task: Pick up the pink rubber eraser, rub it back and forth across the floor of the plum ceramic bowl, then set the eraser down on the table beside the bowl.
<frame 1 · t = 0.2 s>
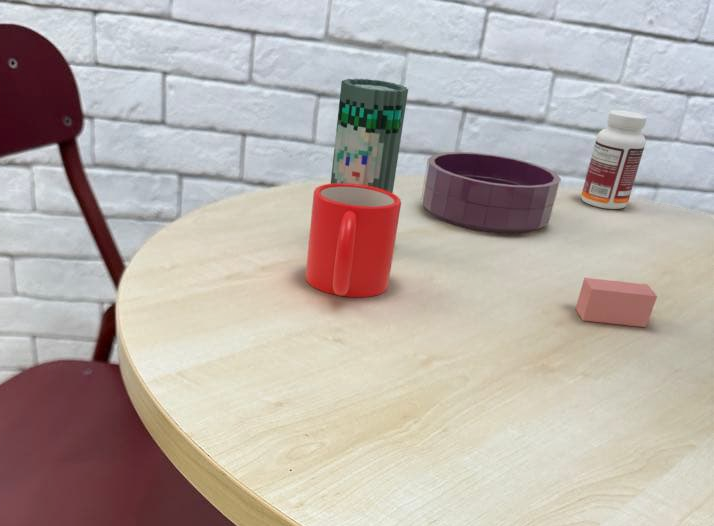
eraser: (610, 317, 79), on the table
pill bottle: (602, 205, 114), on the table
mug: (344, 291, 79), on the table
bowl: (483, 216, 103), on the table
can: (354, 244, 90), on the table
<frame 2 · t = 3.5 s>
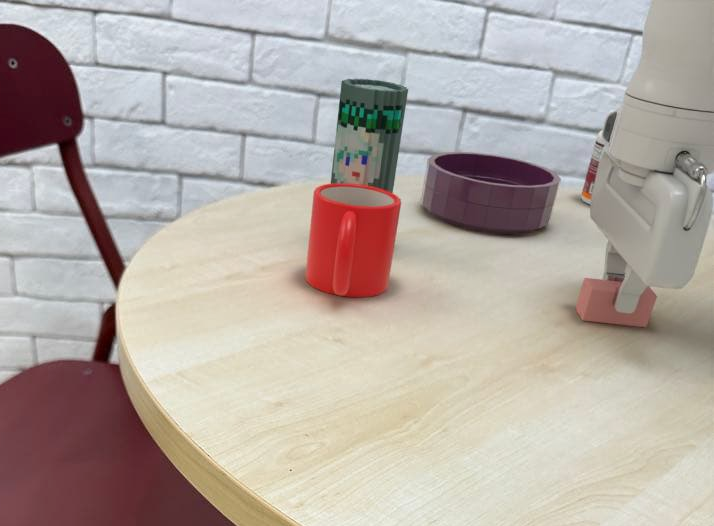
hand: (615, 301, 78), 2 cm above the table, tool pointing down, fingers closed on eraser, 3 cm apart
eraser: (610, 317, 79), on the table, touching gripper
everything else where it was.
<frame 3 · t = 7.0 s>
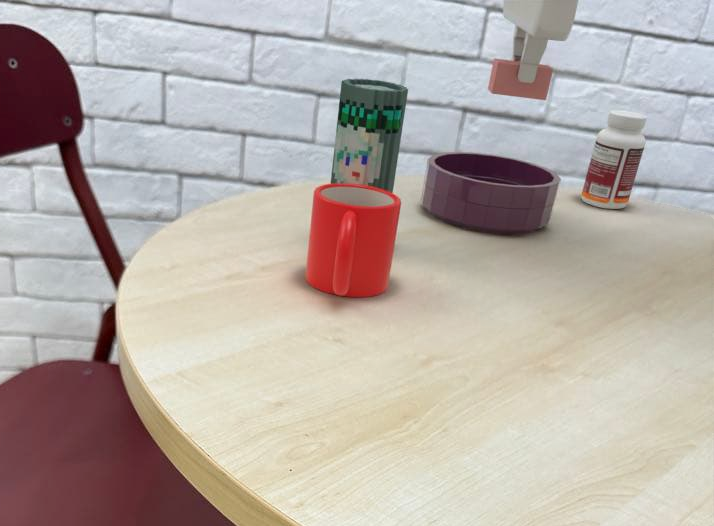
hand: (520, 78, 92), 15 cm above the table, tool pointing down, fingers closed on eraser, 3 cm apart
eraser: (516, 94, 93), point 14 cm above the table, touching gripper
everything else where it was.
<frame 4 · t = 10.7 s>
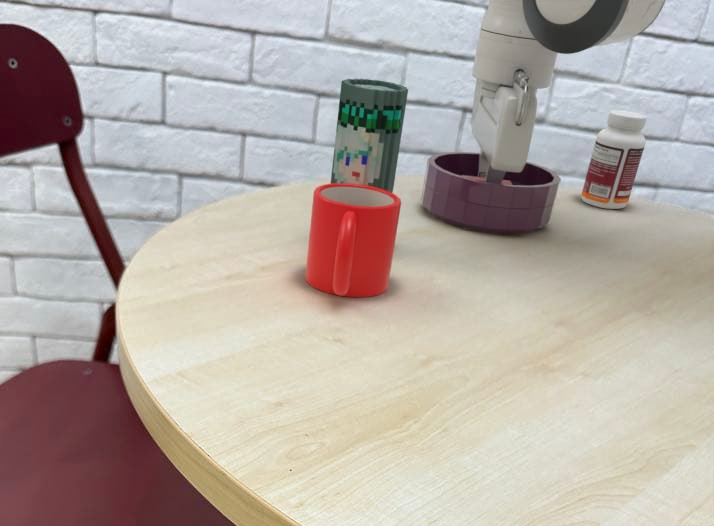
hand: (485, 193, 103), 2 cm above the table, tool pointing down, fingers closed on eraser, 3 cm apart
eraser: (482, 206, 104), point 1 cm above the table, touching bowl, gripper
everything else where it was.
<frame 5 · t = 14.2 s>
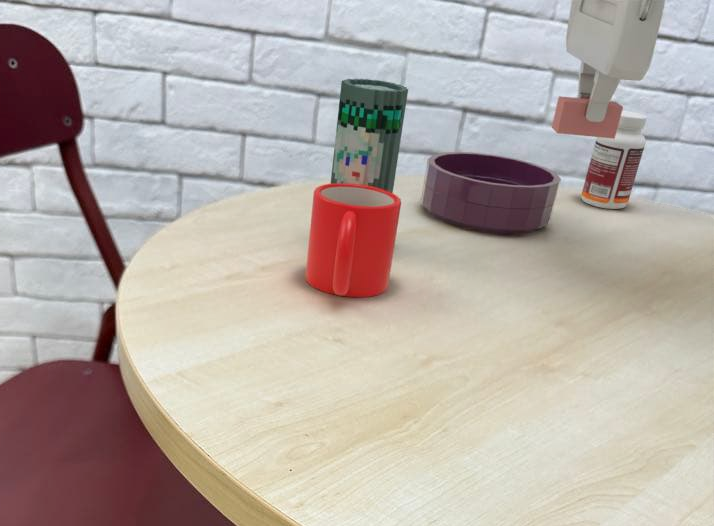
hand: (588, 116, 88), 13 cm above the table, tool pointing down, fingers closed on eraser, 3 cm apart
eraser: (582, 133, 89), point 12 cm above the table, touching gripper
everything else where it was.
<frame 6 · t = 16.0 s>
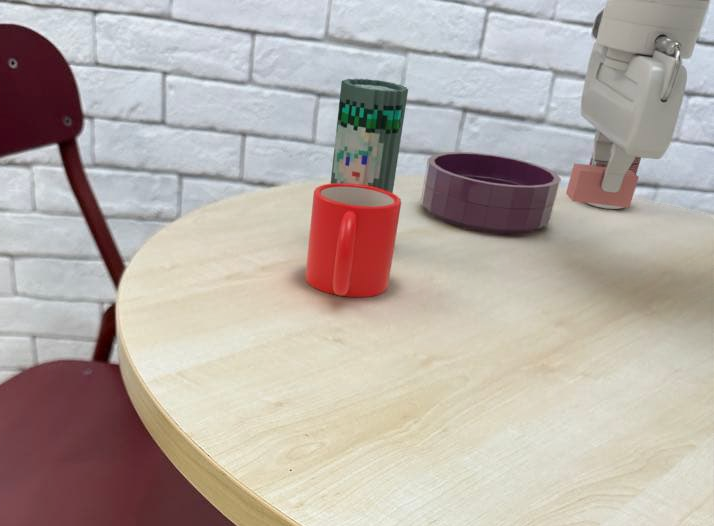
hand: (602, 184, 87), 8 cm above the table, tool pointing down, fingers closed on eraser, 3 cm apart
eraser: (597, 200, 88), point 6 cm above the table, touching gripper
everything else where it was.
when the fingers open (1 cm above the table, at t = 17.8 s): eraser stays where it is, on the table.
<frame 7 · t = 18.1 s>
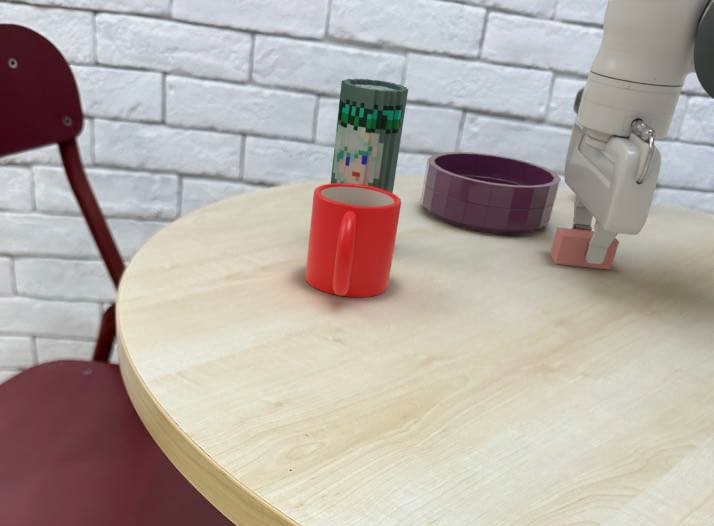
hand: (585, 251, 91), 1 cm above the table, tool pointing down, fingers open, 5 cm apart
eraser: (579, 262, 92), on the table
everything else where it was.
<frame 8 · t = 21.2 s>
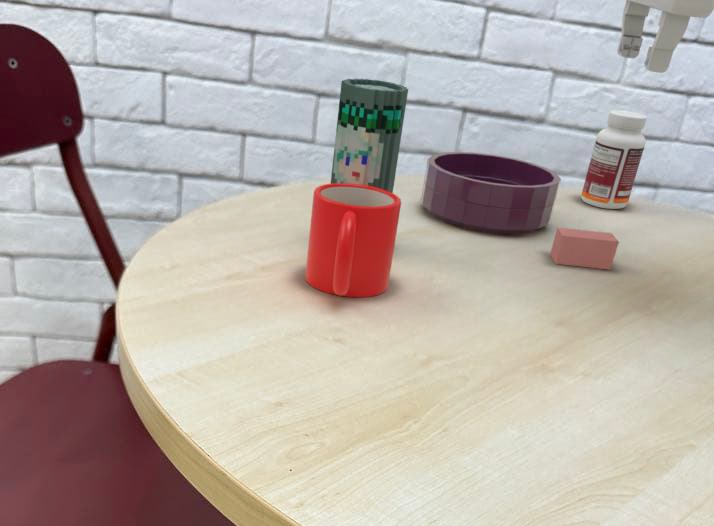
hand: (639, 63, 81), 19 cm above the table, tool pointing down, fingers open, 8 cm apart
nothing on the table moved.
at the end: eraser 0.3 cm from the target spot on the table beside the bowl, on the table; eraser tilted 0°; the gripper is holding nothing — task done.
